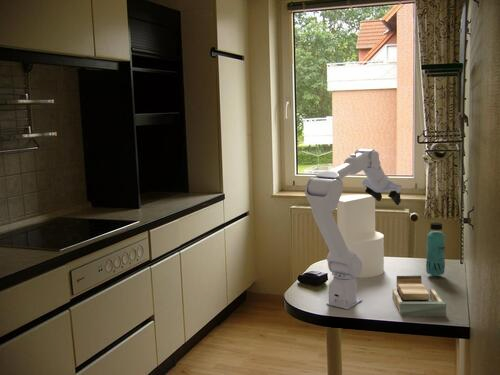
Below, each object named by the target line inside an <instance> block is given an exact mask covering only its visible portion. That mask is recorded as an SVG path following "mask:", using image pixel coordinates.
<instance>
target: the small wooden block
mask: <svg viewBox="0 0 500 375" xmlns="http://www.w3.org/2000/svg"><path fill="white" fill-rule="evenodd" d="M396 291H397V292H398V294H400V298H401V300H402V302H407V301H410V300H411V301H414V300H415V301H416V300H417V301H419V300H423V302H429V300H430V292H429V291H428V290H427V288H426V287H425V285H424V284H423V282H422V275H396Z"/></svg>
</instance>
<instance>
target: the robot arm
mask: <svg viewBox="0 0 500 375" xmlns="http://www.w3.org/2000/svg"><path fill="white" fill-rule="evenodd" d="M362 171H363V173H364V174H365V176H366V178H367V179H366V178H365V179H363V181H362V182H361V185H362V186H363V188H366V189H365V193H366V194H367V195H371V196H373V197H374V198H375V201H377V202H380V201H381V200H382V198H383V196H382V193H387V192H389V194H388V195H387V197H388V198H390V199H391V200H392V201H393V202H394V204H395V205H397V206H399V205H400V203H401V191H402V190H403V189H402V186H401V184H397V183H395V182H393V181H392V180H390V179H389V176H388V175H386V174H385V172H384V170H383V168H382V166H381V161H380V155H379V151H376V150H375V149H373V148H371V149H369V148H358V149H356V150H355V151H354V153H352V154H350V155H349V157H347V158H346V159H345V160H344V162H343V164H340V165H338V166H335V167H334V168H331V169H328V170H326V171H323V172H319V173H317V174H315V175H314V176H312V177H310V178H309V179H308V180H307V182H306V185H305V189H304V190H305V191H304V195H305V196H306V199H307V201H308V203H309V206H310V209H311V214H312V217H313V219H314V221H315V224H316V226H317V229H318V230H319V232H320V234H321V236H322V238H323V240H324V243H325V244H326V247H327V248H328V251H329V252H328V253H327V256H326V261H327V268H328V270H329V272H331V275H332V276H333V279H332V280H331V281H330V282H329V284H328V301H327V302H326V305H327V306H331V307H337V308H340V309H345V310H350V309H351V308H352V307H354V306H356V305H358V304H359V303H361V302H362V301H363V299H362V298H359V297H357V296H358V294H357V291H358V289H357V285H358V284H357V278H358V277H357V276H359V274H360V273H361V271H362V261H361V259H360V258H358V257H357V255H356V253H354V252H353V251H351V250H350V249H348V248H347V246H346V244H345V242H344V239H343V237H342V235H341V233H340V230H339V228H338V226H337V221H336V219H335V217H334V215H333V213H332V212H334V211H337V205H338V202H339V199H340V197H341V196H342V194H343V188H344V183H343V179H344V178H345V177H347V176H348V175H357V174H358V173H361V172H362Z"/></svg>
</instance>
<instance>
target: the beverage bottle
mask: <svg viewBox="0 0 500 375" xmlns="http://www.w3.org/2000/svg"><path fill="white" fill-rule="evenodd" d="M429 229H430V230H432V231H429V232H428V233H427V234H426V260H425V261H426V262H425V263H426V264H425V267H426V270H425V271H426V274H428V275H431V276H442V275H444V274H445V269H446V257H445V256H446V255H445V254H446V234H444V233H443V231H441V230H443V224H442V223H441V222H438V221H437V222H434V221H433V222H431V223H430V227H429Z"/></svg>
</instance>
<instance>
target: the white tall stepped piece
mask: <svg viewBox="0 0 500 375" xmlns="http://www.w3.org/2000/svg"><path fill="white" fill-rule="evenodd" d="M336 215H337V216H336V220H337V221H336V224H337V226H338V228H339V230H340V233H341V235H342V237H343V239H344V242H345V244H346V246H347V248H348V249H350V250H351V251H353V252H354V253H356V255H357V257H358V258H360V259H361V261H362V271H361V273H360V274H359V276H357V277H356V278H362V279H363V278H373V277H377V276H381V275H383V273H384V271H385V267H384V266H385V265H384V264H385V248H384V247H385V245H384V243H385V242H384V241H385V240H384V239H385V238H384V236H385V235H384V234H383V233H381V232H379V231H376V199H375V198H374V197H373V196H371V195H370V194H347V195H341V197H340V199H339V202H338V205H337V208H336Z"/></svg>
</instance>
